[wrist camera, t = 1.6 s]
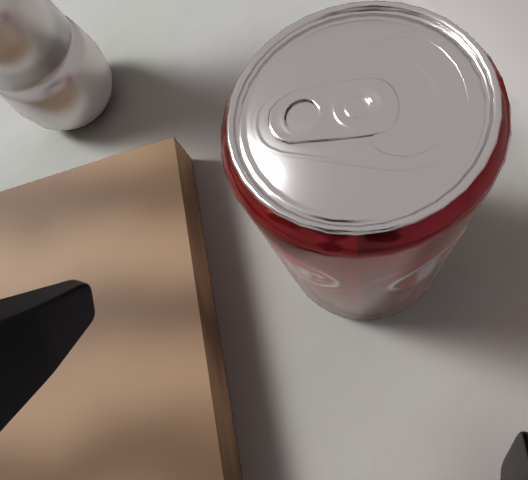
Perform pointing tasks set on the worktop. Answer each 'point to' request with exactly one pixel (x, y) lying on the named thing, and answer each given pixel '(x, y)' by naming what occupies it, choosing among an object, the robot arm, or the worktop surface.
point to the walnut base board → (121, 325)
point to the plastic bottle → (50, 66)
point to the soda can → (366, 150)
